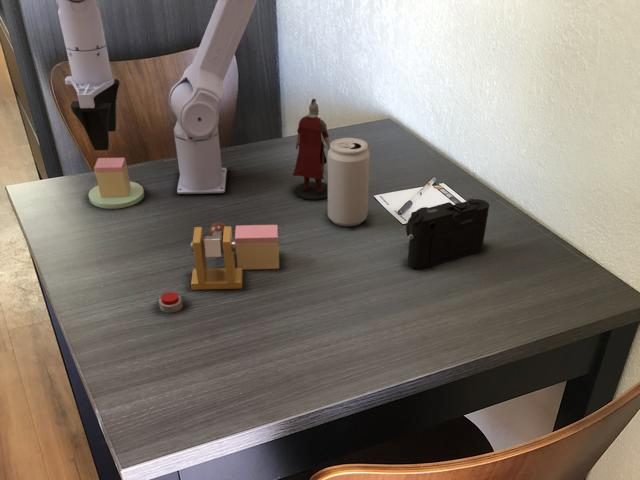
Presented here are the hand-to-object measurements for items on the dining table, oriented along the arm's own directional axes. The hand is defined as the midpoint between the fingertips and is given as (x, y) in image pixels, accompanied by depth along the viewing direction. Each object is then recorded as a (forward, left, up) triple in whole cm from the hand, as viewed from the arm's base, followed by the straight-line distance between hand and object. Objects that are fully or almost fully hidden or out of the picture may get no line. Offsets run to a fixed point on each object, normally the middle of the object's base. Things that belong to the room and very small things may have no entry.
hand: (105, 139), depth 116 cm
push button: (+34, +12, -10) cm, 37 cm away
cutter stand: (+28, +18, -9) cm, 35 cm away
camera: (+21, +51, -10) cm, 56 cm away
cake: (+23, +24, -9) cm, 34 cm away
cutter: (+23, +18, -7) cm, 30 cm away
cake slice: (0, 0, -9) cm, 9 cm away
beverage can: (+10, +38, -10) cm, 40 cm away
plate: (0, 0, -9) cm, 9 cm away
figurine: (0, +33, -10) cm, 34 cm away
